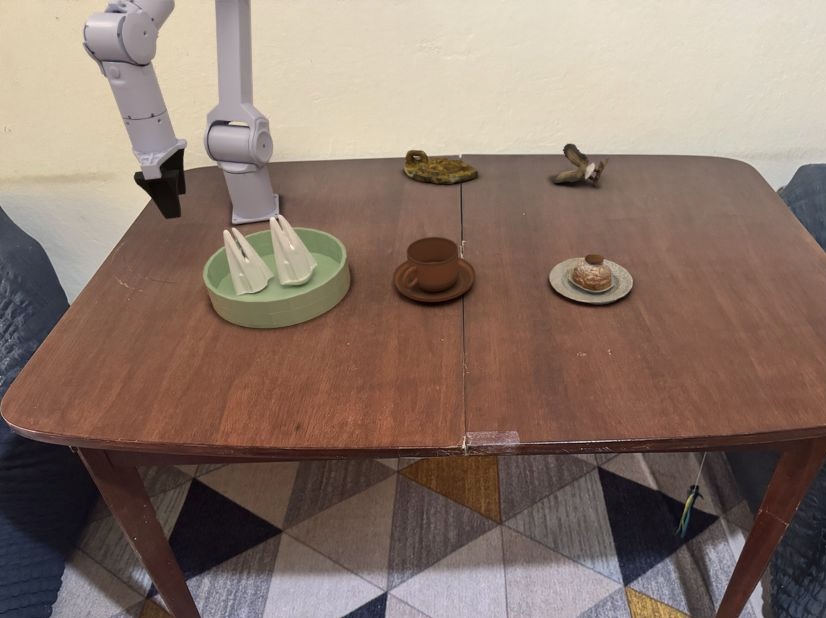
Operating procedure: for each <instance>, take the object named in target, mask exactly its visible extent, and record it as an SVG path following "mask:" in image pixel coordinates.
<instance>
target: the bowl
mask: <svg viewBox="0 0 826 618" xmlns="http://www.w3.org/2000/svg"><path fill="white" fill-rule="evenodd" d="M291 227H292V226H291ZM280 228H281V230H282V231H283V229H282V227H280ZM292 228H293V230H294V231H295V233H296V234H297V235H298V237H299V238H300V239H301V241H302V242H303V244H304V245H305V246H306V248H307V249H308V251H309V252H310V254H311V255H312V257H313V258H314V259H315V261H316V262H317V266H316V267H315V269H314V271H313V274H312V276H311V278H310V279H309V280H308V281H307V282H306V283H305V284H302V285H282V284H281V283H280V280H279V275H278V270H277V265H276V259H275V253H274V248H273V242H272V236H271V228H270V229H265V230H261V231H260V230H259V231H257V232H252V233H249V234H246V235H243V237H244V238H245V239H246V240H247V242H248V243H249V244H250V245H251V246H252V248H253V249H254V250H255V251H256V253H257V254H258V255H259V256H260V258H261V259H262V260H263V262H264V263H266V266H268V268H269V269H270V271H271V272H272V273H273V275H274V276H273V277H271V278H269V279H268V281H267V283H268V284H267V285H266V286H265V287H264V288H263V289H261V290H260V291H257V292H254V293H244V294H241V295H239V296H237V295H236V293H235V289H234V285H233V281H232V277H231V272H230V268H229V263H228V258H227V254H226V249H225V245H223V246H222V247H220V248H219V249H218V250H216V251H215V252H214V253H213V254H212V255H211V256H210V257H209V259H208V260H207V262H206V263H205V265H204V267H203V273H202V279H203V282H204V285H205V289H206V291H207V294H208V296H209V299H210V302H211V305H212V307H213V309H214V311H215V312H216V313H217V315H219V316H220V317H221V318H222V319H223V320H225V321H226V322H229V323H231V324H233V325H237V326H240V327H245V328H251V329H276V328H284V327H290V326H294V325H298V324H301V323H305V322H308V321H310V320H313V319H315V318H317V317H320V316H322V315H323V314H325V313H327V312H329V311H330V310H331V309H333V308H334V307H335V306H337V305H338V304H340V302H341V301H342V300H343V299H344V297H345V296H346V295H347V293H348V291H349V289H350V287H351V286H350V285H351V279H352V278H351V272H350V268H349V267H350V266H349V261H348V254H347V250H346V246H345V245H344V244H343V243H342V241H341V240H340V239H339V238H338V237H336V236H334V235H332V234H331V233H329V232H326V231H322V230H319V229H315V228H310V227H309V228H308V227H301V226H300V227H299V226H297V227H296V226H295V227H292ZM233 240H234V241H235V243H236V245H237V247H238V249H239V250H240V247H239V245H238V243H237V240H236V239H233Z"/></svg>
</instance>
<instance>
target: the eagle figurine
mask: <svg viewBox="0 0 826 618" xmlns="http://www.w3.org/2000/svg"><path fill="white" fill-rule="evenodd" d="M562 151H563V154H564V157H565V158H566V159H567V160H569V162H570V163H571V164H572V165H574V166H575V167H577V168H576V169H574V170H566V171H562V172H561V173H559V174H558V175H557V174H556V175H555V176H553V177H552V178H551V181H552V182H553V183H554V184H558V183H559V184H560V183H564V182H570V183H574V182H578V181H579V180H580V179H585V180H587V179H588V180H590V181H592V182H593V184H594V187H595V188H597V187H598V185H599V184H598V183H599V180H600V178H601V176H602V173H603V171H604V169H605V168H606V165H607V164H608V162H609V159H610V157H609V156H608V157H606V159H605V160H604V162H603V161H602V160H599V163H598V168H596V163H595V162H591V164H589V162H590V161H589V159H588V157H587V155H586V154H585V153H582V152H581V151H580V149H578V147H577V145H576V144H575V143H566V144H565V145H564V146H563V149H562ZM593 173H595V176H593V175H592V174H593Z"/></svg>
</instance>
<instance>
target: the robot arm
mask: <svg viewBox="0 0 826 618" xmlns="http://www.w3.org/2000/svg"><path fill="white" fill-rule="evenodd" d="M251 4H252V1H251V0H214V7H215V8H214V11H215V32H216V33H215V34H216V37H215V38H216V60H217V61H216V62H217V63H216V64H217V81H218V82H217V87H218V103H217V104H216V105H215V106H214V107H213V108H212V109H211V110H210V111H209V112H208V113H207V114H206V127H205V131H204V134H203V146H204V150H205V153H206V155H207V156H208V158H209V159H210V160H212V161H213V162H216V165H217V168H219V169H222V172H223V175H224V179H225V183H226V187H227V190H228V193H229V197H230V200H231V204H232V215H231V223H232V225H240V224H249V223H256V222H264V221H270V218H271V217H274V218H275V219H276V220H279V219H278V215H280V200H279V196H280V195H279V193H274V191H273V186H272V182H271V178H270V174H269V170H268V165H267V164H268V163H270V161H271V159H272V156H273V153H274V142H273V138H272V135H271V131H270V130H271V128H270V120H269V119H268V118H267V116H265V115H264V114H263V113H262V112H261V111H260V110H259V109H257V108H256V107H255V106H254V87H253V81H254V80H253V44H252V43H253V42H252V41H253V39H252V38H253V37H252V5H251ZM107 5H108V6H106V7H105V9H104V12H103V11H102V12H99V11H98V12H93V13H91V14H90V15H89V16H88V18H87V19H86V20H85V21H84V24H83V28H82V37H83V41H82V47H83V49H84V50H85V52H86V54H87V56H89V57H90V58H91V59H92V60H93V61H95V63H96V64H97V66H98V68H99V70H100V73H101V75H103V76H104V77H105V78H106V79H107V81H108V83H109V86H110V89H111V91H112V95H113V96H114V100H115V103H116V105H117V108H118V111H119V113H120V117H121V119H122V121H123V124H124V127H125V130H126V133H127V136H128V138H129V141H130V143H131V151H132V154H133V156H134V157H135V158H136V160H137V161H138V163H139V164H140V165H139V166H140V171H135V172H134V174H133V180H134V182H135V184H136V185H137V186H138V187H140V188H141V189H142V190H143V191H144V192H145V193H146V194H147V195H148V196H149V198H150V199H151V200H152V202H154V204H155V205H156V207H157V209H158V210H159V212H160V213H161V215H162V216H163V217H164V218H165V220H172V219H178V218H181V217H182V208H181V207H182V206H181V201H180V197H179V196H182V195H186V194H187V185H186V184H187V183H186V177H185V176H186V175H185V167H184V166H185V165H184V164H185V163H184V160H185V159H184V158H185V149H186V148H187V146H188V141H187V139H186V138H177V137H176V134H175V130H174V127H173V123H172V121H171V118H170V115H169V111H168V108H167V105H166V102H165V99H164V96H163V93H162V90H161V86H160V84H159V80H158V77H157V74H156V72H155V67H154V65H153V61H152V60H154V59H155V58H156V54H157V41H158V38H159V31H160V30H161V28H162V27H163V26H164V24H165V23H166V21H167V20H168V18H169V17H170V16H171V14H172V13H173V11H174V10H175V7H176V3H175V0H109V1H108V2H107ZM233 122H236V123H244V124H246V125H241V124H230V123H233Z"/></svg>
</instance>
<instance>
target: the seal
mask: <svg viewBox="0 0 826 618" xmlns="http://www.w3.org/2000/svg"><path fill="white" fill-rule="evenodd" d="M415 157H418V158H419V159H417V158H415ZM403 169H404V170H403V171H404V173H405V174H406V176H407V177H409V179H410V178H411V179H412V180H415V181H417V182H421V183H432V184H437V185H438V184H440V185H451V184H455V183H461V182H467V181H469V180H472V179H475V178H476V177H477V176H478V175H479V171H478V170H477V169H476V168H475V167H473V166H472V165H470V164H469V163H466V162H464V161H463V160H461V159H456V160H455V159H449V158H447V157H443V158H442V157H434V156H431V157H430V158H429V156H428V155H427V153H426V152H425V151H424V150H421V149H418V150H416V149H411V150H410V149H409V150H408V151H407V152H406V154H405V162H404V164H403Z"/></svg>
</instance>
